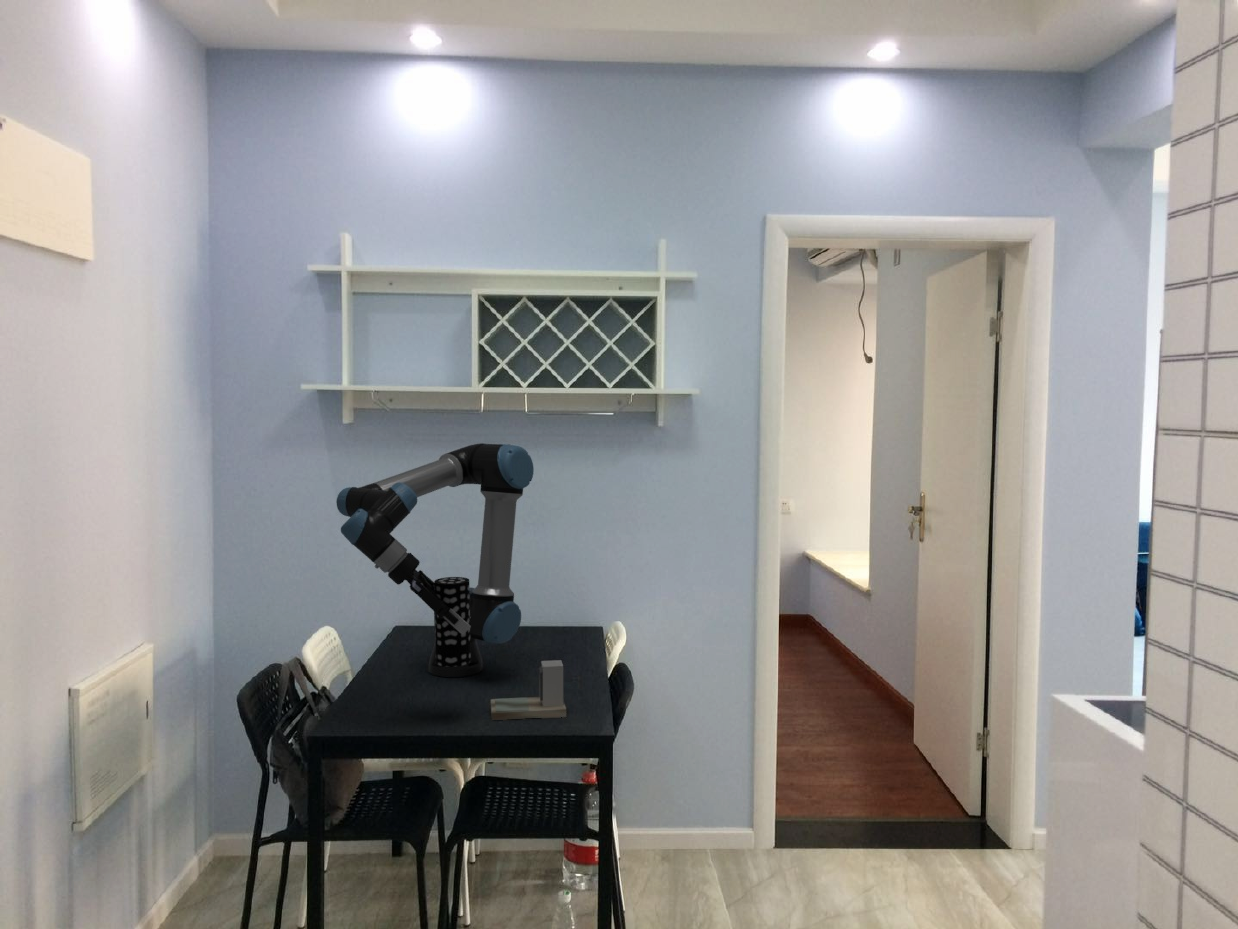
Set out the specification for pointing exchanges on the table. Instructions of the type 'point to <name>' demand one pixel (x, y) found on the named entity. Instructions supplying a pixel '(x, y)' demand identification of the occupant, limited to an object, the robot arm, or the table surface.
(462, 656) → the white-spotted black cylinder
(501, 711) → the beige rectangular board
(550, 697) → the block
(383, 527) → the robot arm
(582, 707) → the table surface
